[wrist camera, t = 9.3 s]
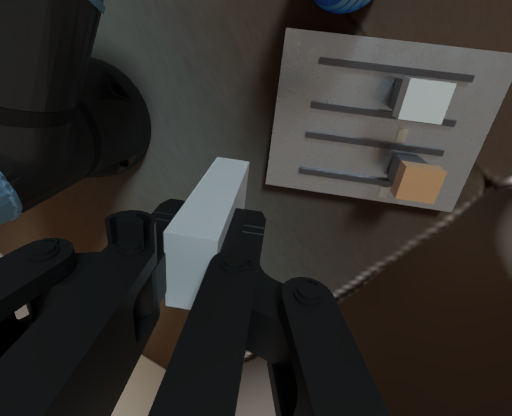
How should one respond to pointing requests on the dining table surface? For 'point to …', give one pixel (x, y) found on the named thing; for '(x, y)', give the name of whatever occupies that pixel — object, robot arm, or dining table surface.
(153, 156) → the dining table surface
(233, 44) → the dining table surface
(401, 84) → the fader
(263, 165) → the dining table surface
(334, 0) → the beer can
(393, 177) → the fader
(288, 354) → the robot arm
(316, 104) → the console
